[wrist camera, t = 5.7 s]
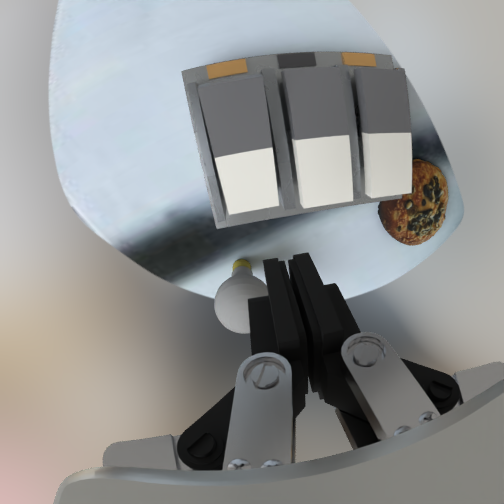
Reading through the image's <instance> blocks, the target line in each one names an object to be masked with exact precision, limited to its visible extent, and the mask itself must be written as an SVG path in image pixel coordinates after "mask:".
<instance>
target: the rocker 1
mask: <svg viewBox="0 0 504 504" xmlns="http://www.w3.org/2000/svg"><path fill="white" fill-rule="evenodd" d="M197 89H198V93H199V97H200V101H201V105H202V110H203V114H204V118H205V122H206V126H207V130H208V134H209V138H210V142H211V146H212V150H213V154H214V158H215V162H216V166H217V170H218V174H219V178H220V181H221V185H222V189H223V193H224V197H225V201H226V205H227V209H228V213H229V215H231V214H236V213H242V212H247V211H252V210H258V209H263V208H269V207H275V206H279V199H278V190H277V181H276V173H275V164H274V156H273V148H272V140H271V132H270V124H269V117H268V110H267V103H266V95H265V89H264V82H263V76H262V75H261V74H255V75H248V76H241V77H236V78H230V79H225V80H220V81H215V82H210V83H205V84H201V85H199V86H198V88H197Z"/></svg>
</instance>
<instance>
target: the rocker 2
mask: <svg viewBox="0 0 504 504" xmlns="http://www.w3.org/2000/svg"><path fill="white" fill-rule="evenodd" d="M281 77H282V82H283V88H284V93H285V99H286V105H287V111H288V117H289V123H290V130H291V136H292V143H293V150H294V157H295V164H296V172H297V180H298V188H299V197H300V204H301V205H302V207H303V208H304V209H305V208H311V207H317V206H323V205H330V204H336V203H343V202H349V201H353V182H352V166H351V152H350V141H349V131H348V122H347V114H346V106H345V99H344V92H343V85H342V79H341V73H340V68H339V67H319V68H299V69H286V70H283V71H282V72H281Z"/></svg>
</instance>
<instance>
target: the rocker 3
mask: <svg viewBox="0 0 504 504" xmlns="http://www.w3.org/2000/svg"><path fill="white" fill-rule="evenodd" d="M353 70H354V76H355V82H356V89H357V96H358V103H359V111H360V120H361V132H362V141H363V154H364V172H365V194H367V195H368V196H369V197H371V198H377V197H385V196H392V195H400V194H408V193H411V192H412V143H411V124H410V112H409V101H408V93H407V85H406V78H405V71H400V70H390V69H377V68H357V69H353Z"/></svg>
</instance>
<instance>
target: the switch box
mask: <svg viewBox="0 0 504 504" xmlns="http://www.w3.org/2000/svg"><path fill="white" fill-rule="evenodd" d="M319 67H339V68H340V73H341V79H342V85H343V92H344V99H345V106H346V114H347V122H348V131H349V141H350V152H351V166H352V182H353V201H349V202H343V203H336V204H330V205H323V206H317V207H311V208H305V209H304V208H303V207H302V205H301V204H300V197H299V188H298V180H297V172H296V164H295V157H294V150H293V143H292V136H291V130H290V123H289V117H288V111H287V105H286V99H285V93H284V88H283V82H282V77H281V72H282V71H283V70H286V69H299V68H319ZM357 68H377V69H390V70H400V71H405V70H404V69H403V68H395V69H394V68H393V62H392V57H391V55H382V54H371V53H357V52H300V53H284V54H273V55H264V56H256V57H248V58H242V59H236V60H230V61H224V62H219V63H214V64H209V65H205V66H200V67H196V68H192V69H188V70H184V71H182V76H183V81H184V86H185V91H186V96H187V101H188V106H189V110H190V115H191V120H192V124H193V129H194V134H195V138H196V143H197V147H198V152H199V156H200V160H201V165H202V169H203V173H204V178H205V182H206V186H207V190H208V195H209V199H210V203H211V207H212V211H213V215H214V219H215V223H216V227H217V229H219V228H224V227H229V226H234V225H240V224H245V223H251V222H256V221H262V220H267V219H273V218H278V217H284V216H290V215H296V214H302V213H308V212H314V211H320V210H326V209H332V208H339V207H345V206H352V205H358V204H365V203H372V202H379V201H386V200H393V199H400V198H402V194H400V195H392V196H385V197H377V198H371V197H369V196H368V195H367V194H365V172H364V154H363V141H362V132H361V120H360V111H359V103H358V96H357V89H356V82H355V76H354V70H353V69H357ZM255 74H261V75H262V76H263V82H264V89H265V95H266V103H267V110H268V117H269V124H270V132H271V140H272V148H273V156H274V164H275V173H276V181H277V190H278V199H279V206H275V207H269V208H263V209H258V210H252V211H247V212H242V213H236V214H231V215H229V213H228V209H227V205H226V201H225V197H224V193H223V189H222V185H221V181H220V178H219V174H218V170H217V166H216V162H215V158H214V154H213V150H212V146H211V142H210V138H209V134H208V130H207V126H206V122H205V118H204V114H203V110H202V105H201V101H200V97H199V93H198V89H197V88H198V86H199V85H201V84H205V83H210V82H215V81H220V80H225V79H230V78H236V77H241V76H248V75H255ZM405 78H406V76H405ZM406 85H407V83H406ZM407 93H408V91H407ZM408 101H409V99H408ZM409 112H410V109H409ZM410 124H411V121H410ZM411 143H412V138H411Z"/></svg>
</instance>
